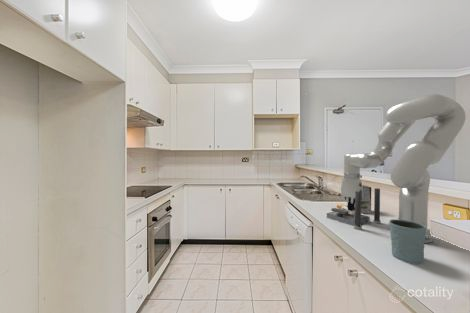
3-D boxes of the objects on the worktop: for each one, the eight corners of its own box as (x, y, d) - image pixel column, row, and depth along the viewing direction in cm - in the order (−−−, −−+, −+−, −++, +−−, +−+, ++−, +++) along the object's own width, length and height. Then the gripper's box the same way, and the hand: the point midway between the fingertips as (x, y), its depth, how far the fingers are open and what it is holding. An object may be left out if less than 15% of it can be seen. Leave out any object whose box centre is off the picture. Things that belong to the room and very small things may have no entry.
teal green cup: (414, 267, 68) (415, 230, 68) (382, 253, 77) (382, 221, 77) (432, 260, 72) (432, 226, 72) (399, 248, 82) (399, 217, 81)
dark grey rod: (363, 229, 102) (363, 191, 102) (359, 230, 101) (359, 192, 100) (356, 227, 105) (356, 190, 105) (352, 228, 104) (352, 191, 103)
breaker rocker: (355, 213, 115) (356, 210, 115) (350, 214, 113) (351, 211, 113) (340, 206, 123) (341, 203, 123) (336, 207, 121) (336, 204, 120)
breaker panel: (370, 221, 114) (370, 210, 114) (353, 226, 106) (353, 214, 106) (342, 213, 128) (342, 204, 127) (326, 217, 120) (326, 207, 120)
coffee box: (371, 213, 128) (372, 187, 127) (360, 213, 128) (360, 187, 128) (364, 209, 137) (364, 185, 136) (354, 209, 138) (354, 184, 137)
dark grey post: (381, 223, 111) (382, 188, 110) (378, 224, 109) (378, 189, 109) (375, 221, 113) (375, 188, 113) (372, 222, 112) (372, 188, 112)
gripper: (369, 177, 110) (369, 212, 111) (343, 174, 123) (342, 206, 124) (361, 178, 106) (360, 214, 107) (334, 175, 119) (334, 207, 120)
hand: (351, 210), depth 115 cm, fingers closed
